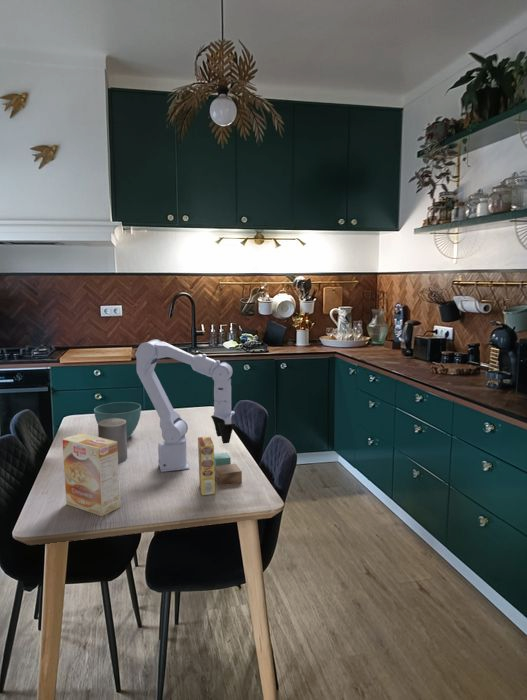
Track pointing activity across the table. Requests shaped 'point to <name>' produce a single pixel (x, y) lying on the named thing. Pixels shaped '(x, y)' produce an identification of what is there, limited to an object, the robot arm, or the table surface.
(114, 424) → the pillar candle
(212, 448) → the candy box
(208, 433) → the table surface
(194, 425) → the table surface
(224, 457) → the teal cube
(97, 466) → the coffeecake box
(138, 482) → the table surface
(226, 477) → the block
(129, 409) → the green bowl
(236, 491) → the table surface
